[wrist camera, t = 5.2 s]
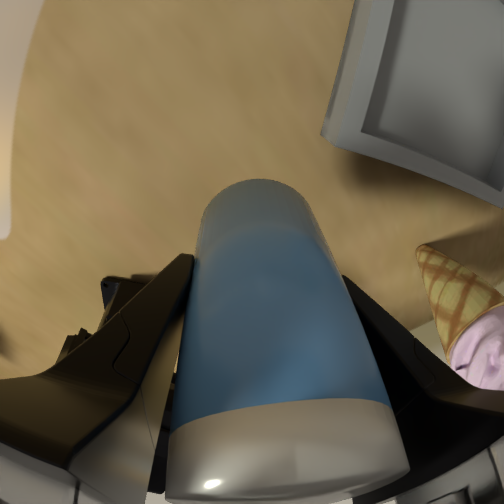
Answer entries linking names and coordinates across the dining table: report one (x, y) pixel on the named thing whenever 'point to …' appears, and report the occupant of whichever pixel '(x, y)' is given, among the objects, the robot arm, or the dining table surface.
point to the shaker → (274, 365)
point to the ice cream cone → (465, 318)
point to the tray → (425, 90)
